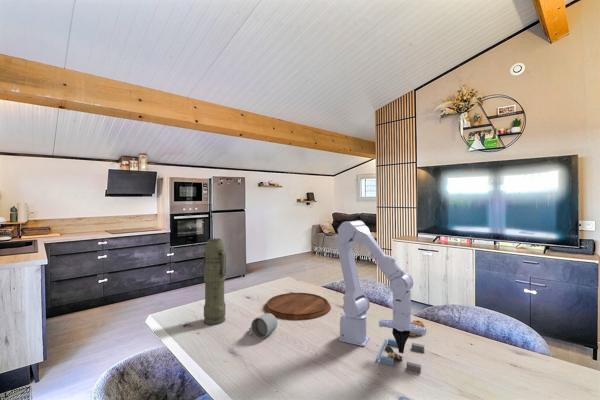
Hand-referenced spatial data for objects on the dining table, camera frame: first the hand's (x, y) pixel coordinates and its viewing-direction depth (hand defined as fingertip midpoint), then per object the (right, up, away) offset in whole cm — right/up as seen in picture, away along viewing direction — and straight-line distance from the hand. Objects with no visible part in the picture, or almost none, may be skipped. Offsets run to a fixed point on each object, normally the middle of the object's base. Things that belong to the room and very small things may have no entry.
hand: (401, 351), depth 98 cm
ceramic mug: (-49, -2, +16) cm, 51 cm away
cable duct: (+1, -1, 0) cm, 1 cm away
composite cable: (-3, -2, 0) cm, 3 cm away
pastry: (+12, -2, +18) cm, 21 cm away
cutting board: (-35, -2, +45) cm, 57 cm away
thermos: (-70, -1, +28) cm, 76 cm away
